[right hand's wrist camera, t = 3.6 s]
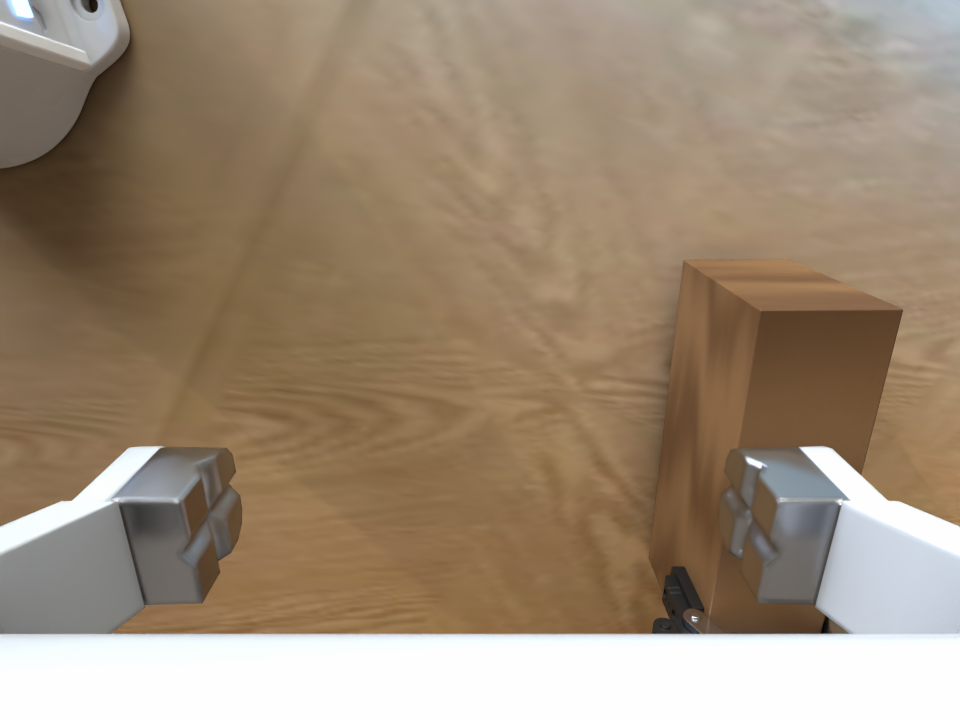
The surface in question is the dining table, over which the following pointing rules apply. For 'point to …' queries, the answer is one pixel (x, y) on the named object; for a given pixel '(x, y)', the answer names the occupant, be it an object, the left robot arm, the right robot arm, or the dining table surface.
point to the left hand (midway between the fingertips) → (732, 577)
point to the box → (759, 408)
